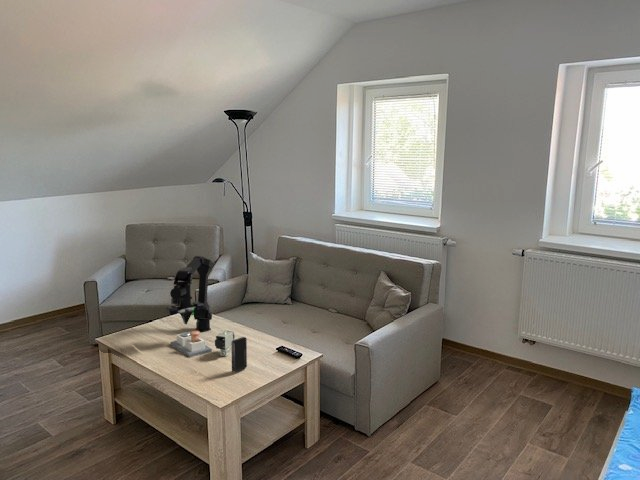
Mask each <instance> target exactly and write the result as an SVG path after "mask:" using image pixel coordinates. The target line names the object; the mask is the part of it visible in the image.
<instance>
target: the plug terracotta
mask: <svg viewBox="0 0 640 480" xmlns="http://www.w3.org/2000/svg"><path fill="white" fill-rule="evenodd" d="M189 332H190V335H191V342H192V343H195V342H199V338H200V337H199V335H200V333H201V332H200V331H198V330H191V331H189Z"/></svg>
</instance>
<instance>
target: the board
mask: <svg viewBox="0 0 640 480" xmlns="http://www.w3.org/2000/svg"><path fill="white" fill-rule="evenodd" d="M181 334H182V333H178V334H176V340H172V341H170V342H169V345H170V346H172V348H175V349H176V350H178V351H179V352H181V353H182V354H184V355H185V356H186V357H188V358H192V357H193V358H194V357H197V356H199V355H204V354H208V353H212V351H213V349H212V348H211V347H209V346H208V345H207V344H206V341H205V340H204V339H202V337H199V342H195V343H192V342H191V335H190V336H188V337H184V338H183V337H182V336H181Z"/></svg>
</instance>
